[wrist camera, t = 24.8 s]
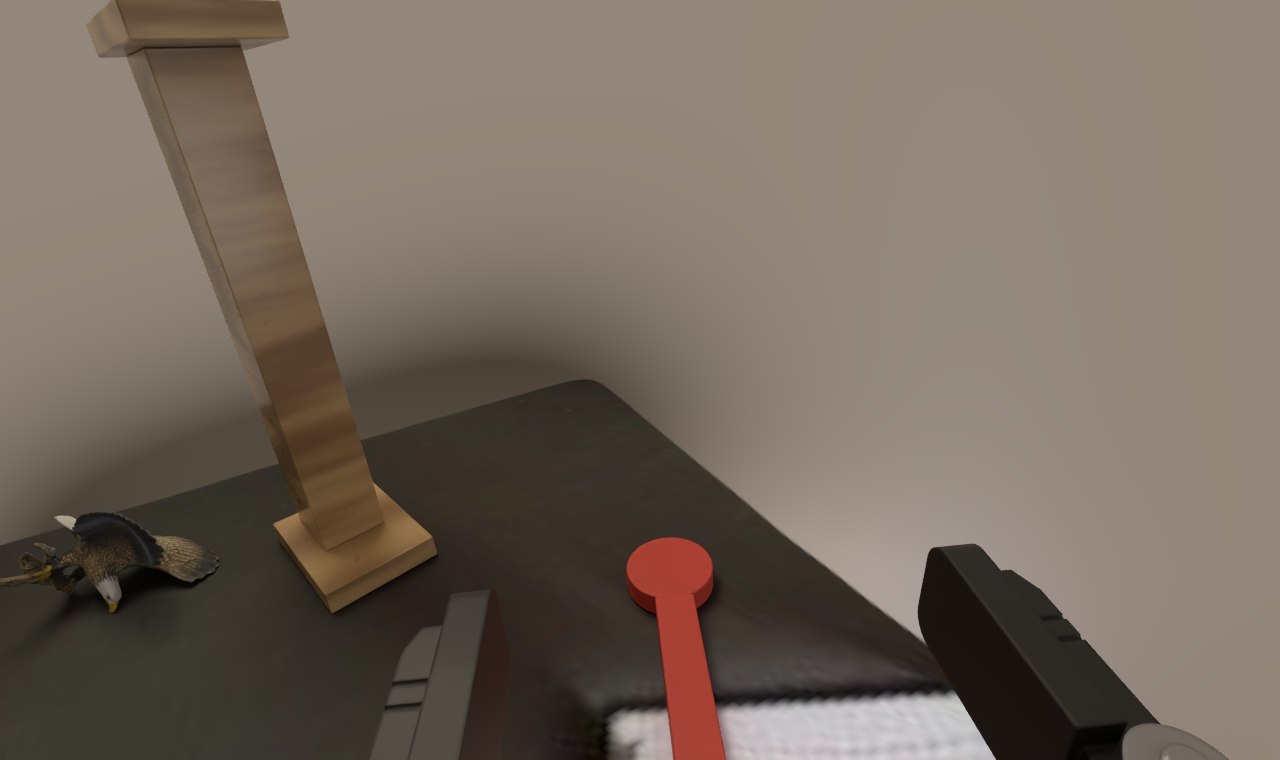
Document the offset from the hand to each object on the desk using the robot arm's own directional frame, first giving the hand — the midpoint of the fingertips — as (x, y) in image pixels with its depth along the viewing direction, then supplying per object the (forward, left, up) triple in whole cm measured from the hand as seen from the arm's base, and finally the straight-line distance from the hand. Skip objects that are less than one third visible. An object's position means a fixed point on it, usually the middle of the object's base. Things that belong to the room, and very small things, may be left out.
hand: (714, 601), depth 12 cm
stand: (-10, +32, -19) cm, 39 cm away
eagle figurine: (-23, +35, -19) cm, 46 cm away
